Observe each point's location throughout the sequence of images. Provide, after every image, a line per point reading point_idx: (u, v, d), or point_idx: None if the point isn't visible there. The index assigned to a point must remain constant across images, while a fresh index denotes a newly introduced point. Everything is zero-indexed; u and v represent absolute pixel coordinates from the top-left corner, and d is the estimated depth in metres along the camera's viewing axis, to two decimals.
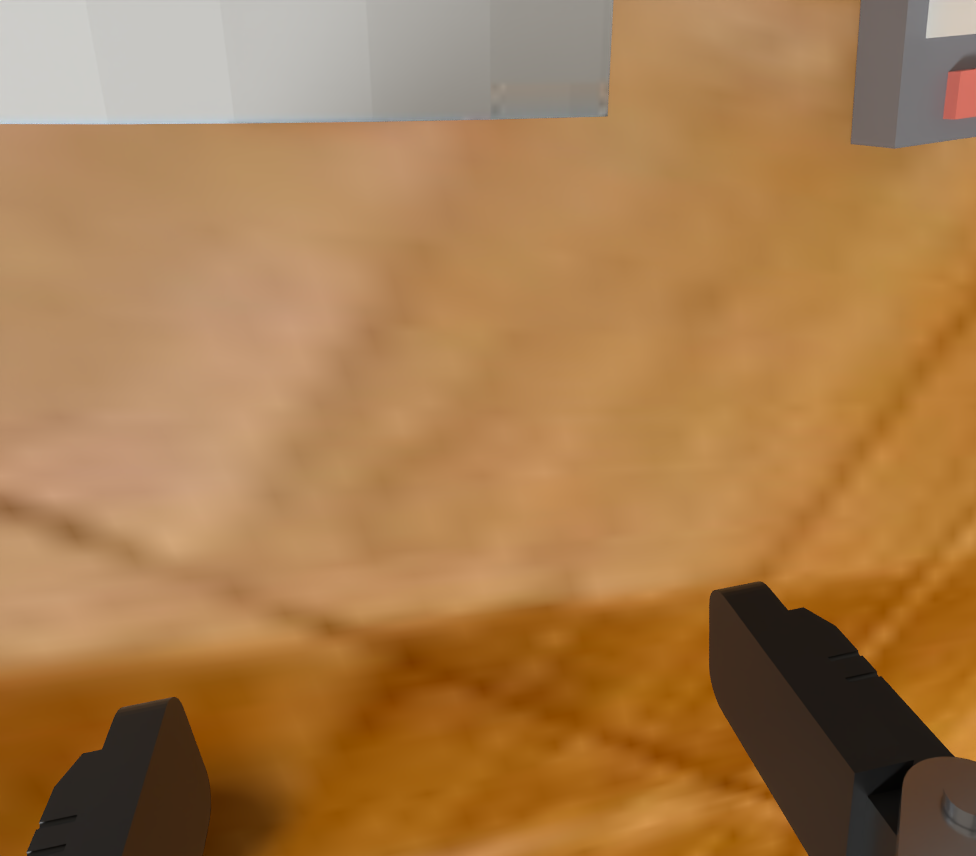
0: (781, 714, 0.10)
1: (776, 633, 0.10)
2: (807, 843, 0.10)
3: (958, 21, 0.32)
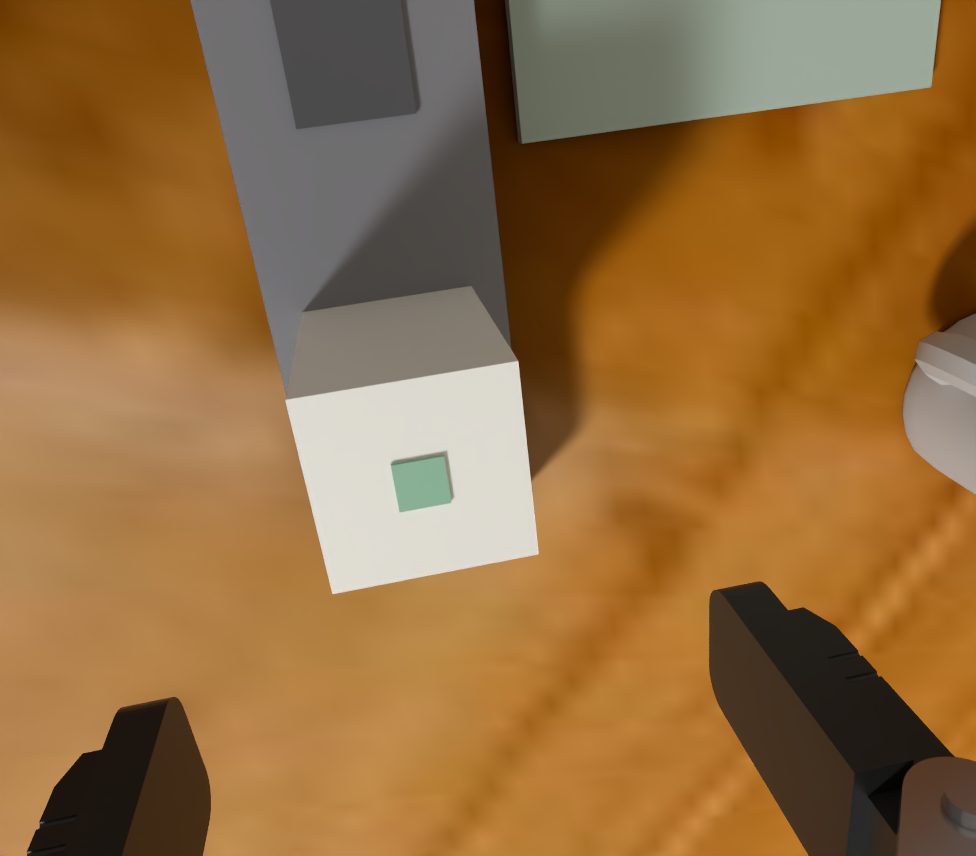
0: (781, 714, 0.10)
1: (776, 633, 0.10)
2: (808, 844, 0.10)
3: None
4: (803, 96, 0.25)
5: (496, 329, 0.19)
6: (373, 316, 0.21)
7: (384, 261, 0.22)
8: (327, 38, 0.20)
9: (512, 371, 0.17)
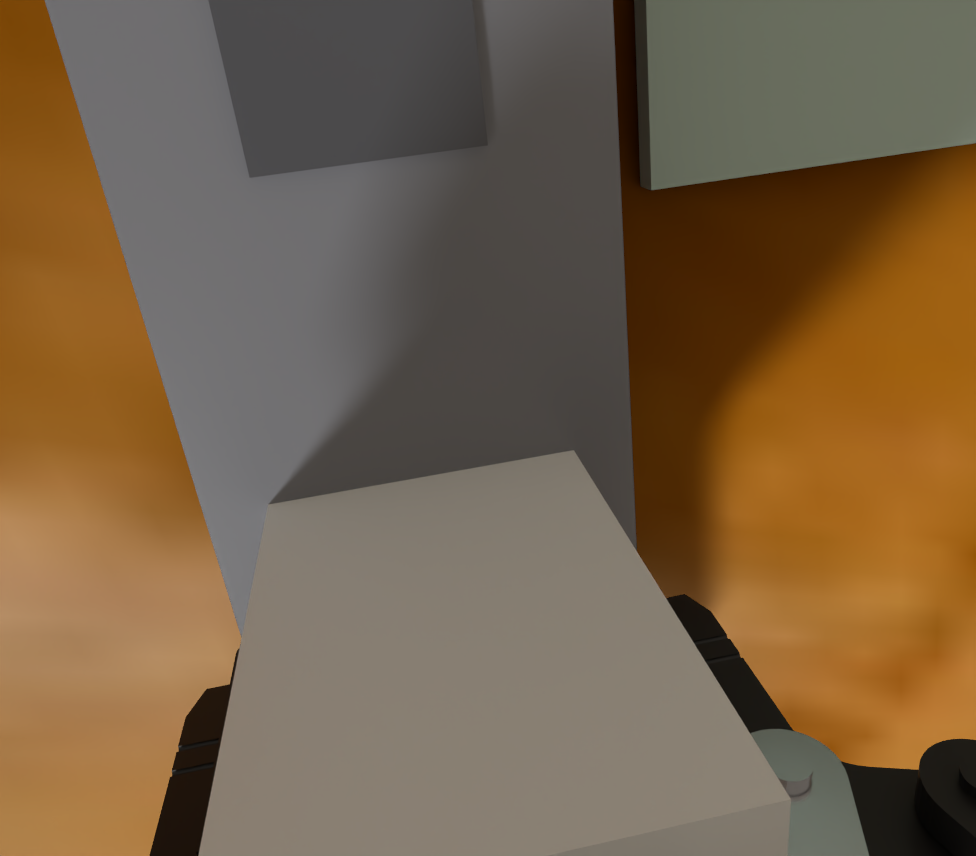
0: None
1: None
2: None
3: None
4: None
5: (675, 621, 0.09)
6: (400, 533, 0.11)
7: (419, 414, 0.12)
8: None
9: (773, 821, 0.07)
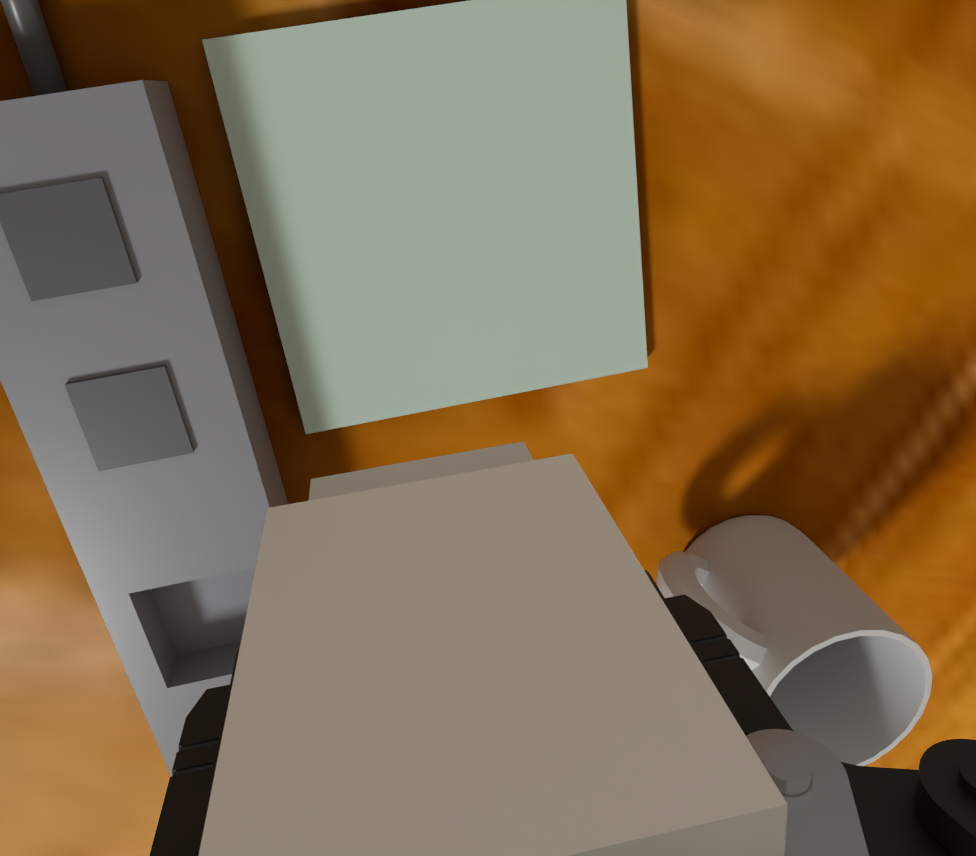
0: None
1: None
2: None
3: None
4: (538, 383, 0.31)
5: (673, 626, 0.09)
6: (399, 537, 0.11)
7: (183, 551, 0.28)
8: (115, 410, 0.26)
9: (770, 826, 0.07)
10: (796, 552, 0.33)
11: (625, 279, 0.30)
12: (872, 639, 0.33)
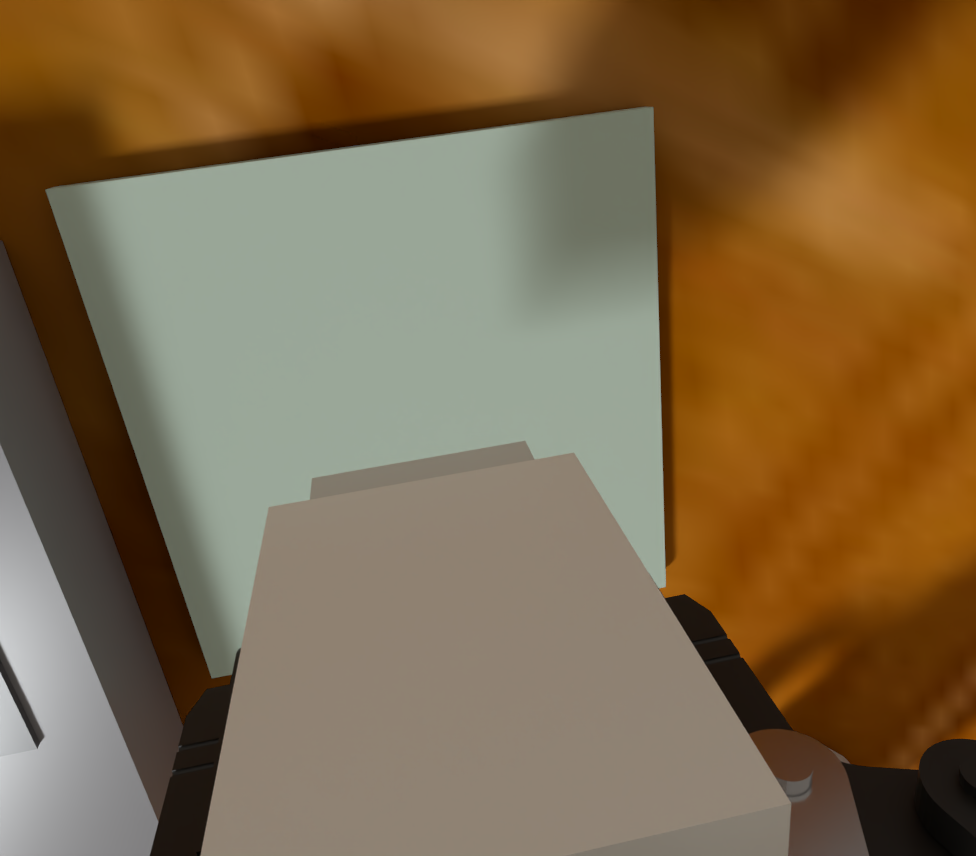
0: None
1: None
2: None
3: None
4: None
5: (676, 624, 0.09)
6: (400, 535, 0.11)
7: None
8: None
9: (773, 825, 0.07)
10: None
11: (640, 484, 0.23)
12: None
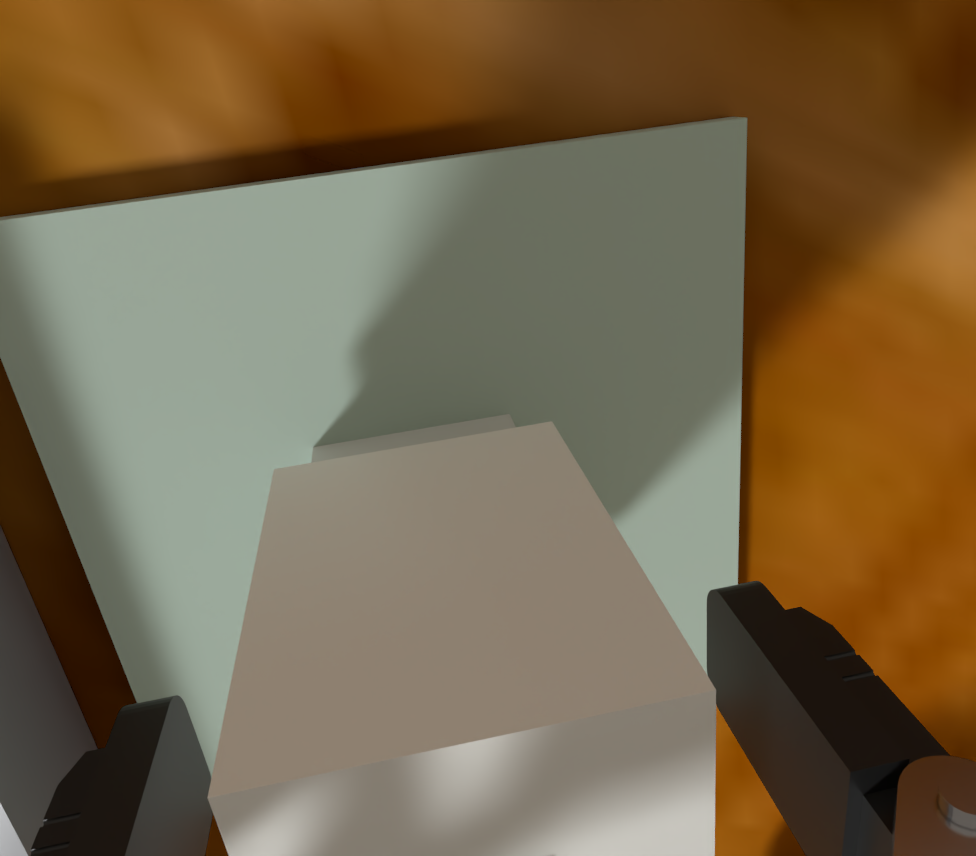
0: (778, 713, 0.10)
1: (773, 632, 0.10)
2: (805, 844, 0.10)
3: None
4: None
5: (632, 558, 0.10)
6: (392, 491, 0.12)
7: None
8: None
9: (702, 709, 0.08)
10: None
11: (710, 580, 0.18)
12: None
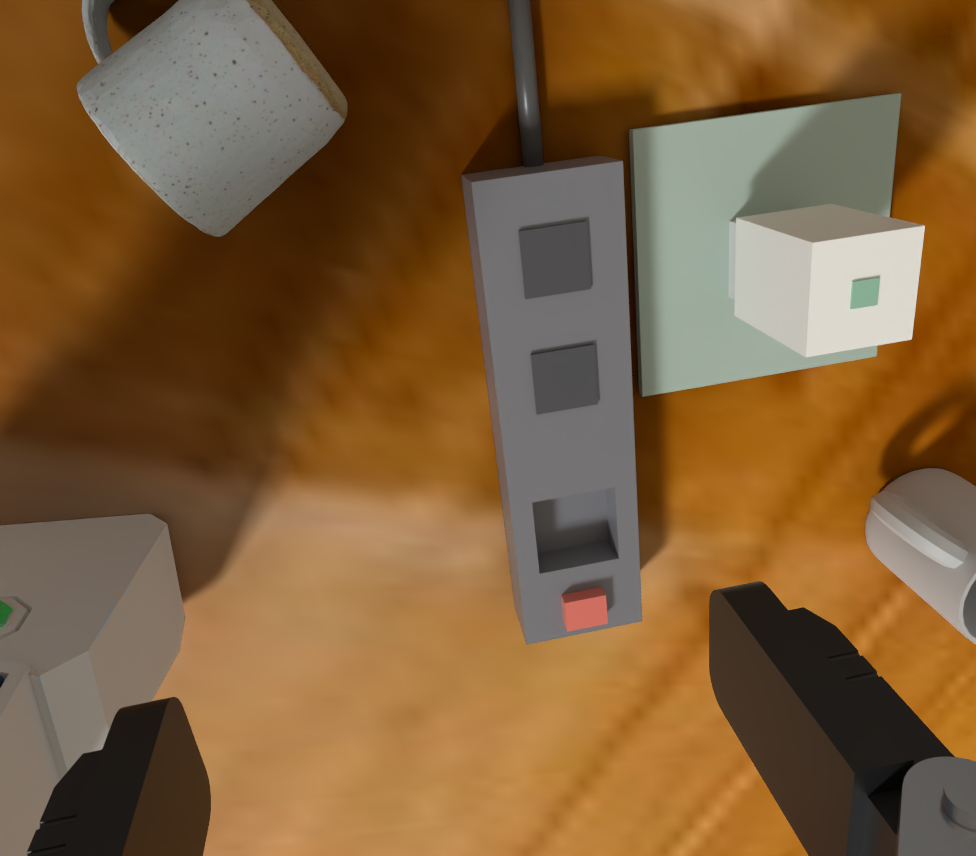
0: (781, 714, 0.10)
1: (776, 633, 0.10)
2: (808, 844, 0.10)
3: (752, 315, 0.38)
4: (802, 365, 0.44)
5: (887, 217, 0.35)
6: (791, 216, 0.37)
7: (573, 473, 0.41)
8: (557, 373, 0.39)
9: (921, 231, 0.33)
10: (973, 491, 0.46)
11: None
12: None
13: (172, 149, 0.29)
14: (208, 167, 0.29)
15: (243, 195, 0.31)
